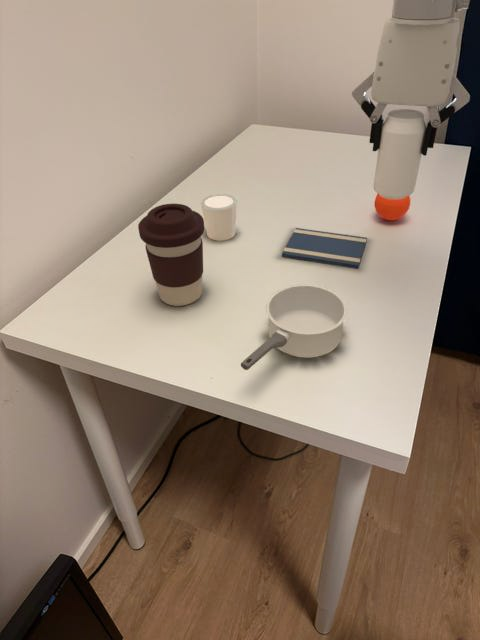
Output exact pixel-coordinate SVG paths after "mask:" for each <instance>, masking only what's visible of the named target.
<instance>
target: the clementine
mask: <svg viewBox="0 0 480 640" xmlns="http://www.w3.org/2000/svg"><path fill="white" fill-rule="evenodd" d="M410 207H411V195H409V196H406V197H405V198H403V199H398V200H392V199H386V198H384V197H382V196H380V195H379V194H378V193H376V195H375V199H374V209H375V212H376V213H377V215H378V216H379V217H380V218H382V219H384V220H387V221H396V220H398V219H401V218H403V217H404V216H405V215H406V214H407V213H408V211H409V209H410Z"/></svg>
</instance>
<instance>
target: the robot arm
mask: <svg viewBox="0 0 480 640" xmlns="http://www.w3.org/2000/svg"><path fill="white" fill-rule="evenodd" d="M470 2H471V0H393V4H392V9H391V10H392V11H391V17H389V18H386V19H385V22H384V26H383V29H382V33H381V37H380V41H379V45H378V50H377V54H376V59H375V66H374V71H373V72H372V73H371V74H370V75H368V76H367V77H366V78H365V79H364V80H362V82H361V83H359V84H358V85H357V86H356V87H355V88H354V89H353V90H352V92H351V96H352V98H353V99H354V100H355V102H356V103H357V104H358V105H359V106H360V108H361V110H362V112H364V114H365V115H366V116H367V118H368V119H369V121H370V123H371V126H370V133H369V141H368V143H369V144H372V152H378V150H379V143H380V135H381V128H382V125H383V123H384V122H385V120H384V118H383V113H384V111H385V110H386V107H387V106H388V105H393V106H395V105H396V106H397V105H398V106H409V107H411V106H412V107H426V108H427V112H428V115H429V116H428V117H429V121H427V124H426V133H425V138H424V143H423V148H422V156H427V154H428V150H429V149H434V145H435V141H436V135H437V131H438V128H439V127H440V125H441V124H442V123H444V122H445V121H447V120H448V119H449V118H451V117H452V116H453V115H454V114H455V113H456V112H457V111H459V110H460V109H462V108H463V107H464V106H466V105H467V104H468V103H469V102H470V100H471V95H470V93H469V92H468V90H467V89H466V88H465V86H464V85H462V83H461V81H460V80H459V79H458V78H457V77H456V75H455V73H454V72H455V71H454V70H455V65H456V59H457V53H458V46H459V37H460V19H459V18H457V17H455V14H456V13H458V11H462V10H466V9H467V10H468V9H469V5H470ZM370 88H371V99H372V100H373V101H374V102H376V103H377V104H376V105H375V104H374V103H373V102H372V100H371V99H370V98H369V97H368V96H367V94H366V92H367V91H368V90H369V89H370ZM450 92H451V93H452V94H453V95H454V97H455V98H454V99H453V100H452V101H451V102H450V103H448V104H447V105H445V106H444V107H443V108H442V109H441V108H440V106H441V105H443V104H445V103H446V101H447V99H448V96H449V94H450Z"/></svg>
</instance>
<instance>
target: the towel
mask: <svg viewBox="0 0 480 640" xmlns="http://www.w3.org/2000/svg"><path fill="white" fill-rule="evenodd" d="M367 241H368V237H365V236H357V235H350V234H344V233H335V232H328V231H321V230H315V229H307V228H300V227H295V228H294V230H293V232H292V234H291V236H290V238H289V239H288V242H287V243H286V245H285V247H284V248H283V250H282V252H281V257H282V258H286V259H293V260H300V261H306V262H312V263H317V264H325V265H331V266H337V267H338V266H339V267H344V268H350V269H357V270H358V269H359V268H360V264H361V261H362V258H363V255H364V251H365V248H366V246H367Z"/></svg>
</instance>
